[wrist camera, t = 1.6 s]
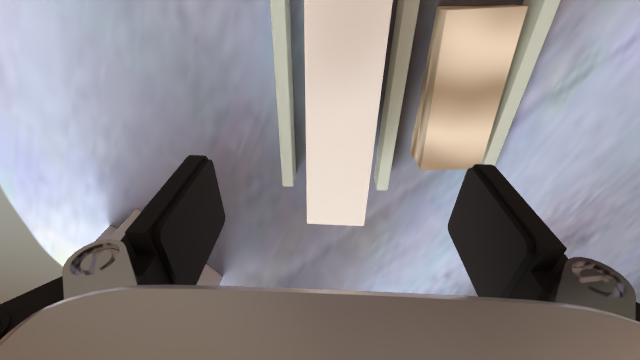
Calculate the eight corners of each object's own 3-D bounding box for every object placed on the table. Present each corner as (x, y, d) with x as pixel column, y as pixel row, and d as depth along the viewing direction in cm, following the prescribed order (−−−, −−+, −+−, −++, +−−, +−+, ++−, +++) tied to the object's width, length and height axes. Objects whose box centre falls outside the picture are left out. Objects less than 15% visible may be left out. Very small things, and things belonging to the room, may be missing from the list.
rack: (473, 179, 29) (483, 194, 27) (286, 172, 30) (282, 186, 28) (554, -45, 20) (579, -49, 17) (273, -48, 20) (266, -52, 18)
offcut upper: (470, 157, 27) (479, 168, 25) (415, 158, 27) (420, 170, 25) (511, 4, 20) (528, 6, 18) (437, 8, 20) (446, 10, 19)
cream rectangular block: (355, 157, 29) (363, 225, 20) (315, 156, 29) (307, 223, 21) (371, -12, 21) (394, -13, 13) (316, -13, 21) (303, -14, 13)
